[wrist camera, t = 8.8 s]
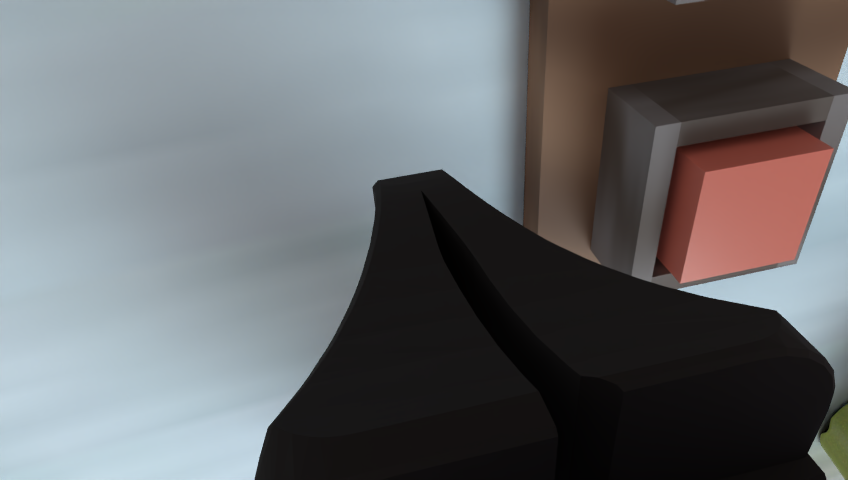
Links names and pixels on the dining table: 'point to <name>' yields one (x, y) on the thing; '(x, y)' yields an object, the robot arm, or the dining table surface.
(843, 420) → the plant pot
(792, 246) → the red button
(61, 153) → the dining table surface
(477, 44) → the dining table surface
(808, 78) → the block
